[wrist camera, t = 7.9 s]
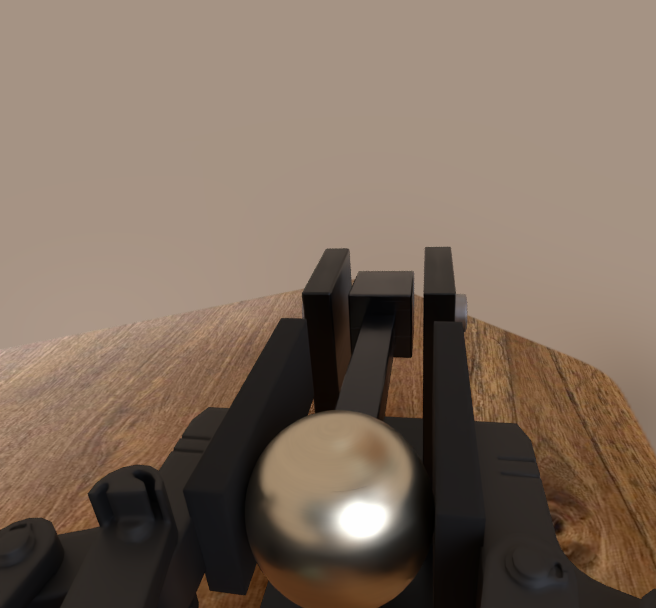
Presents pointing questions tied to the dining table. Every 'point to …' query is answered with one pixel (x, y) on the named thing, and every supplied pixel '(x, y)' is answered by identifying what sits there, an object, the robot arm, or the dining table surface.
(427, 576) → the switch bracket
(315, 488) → the switch lever
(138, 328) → the dining table surface
